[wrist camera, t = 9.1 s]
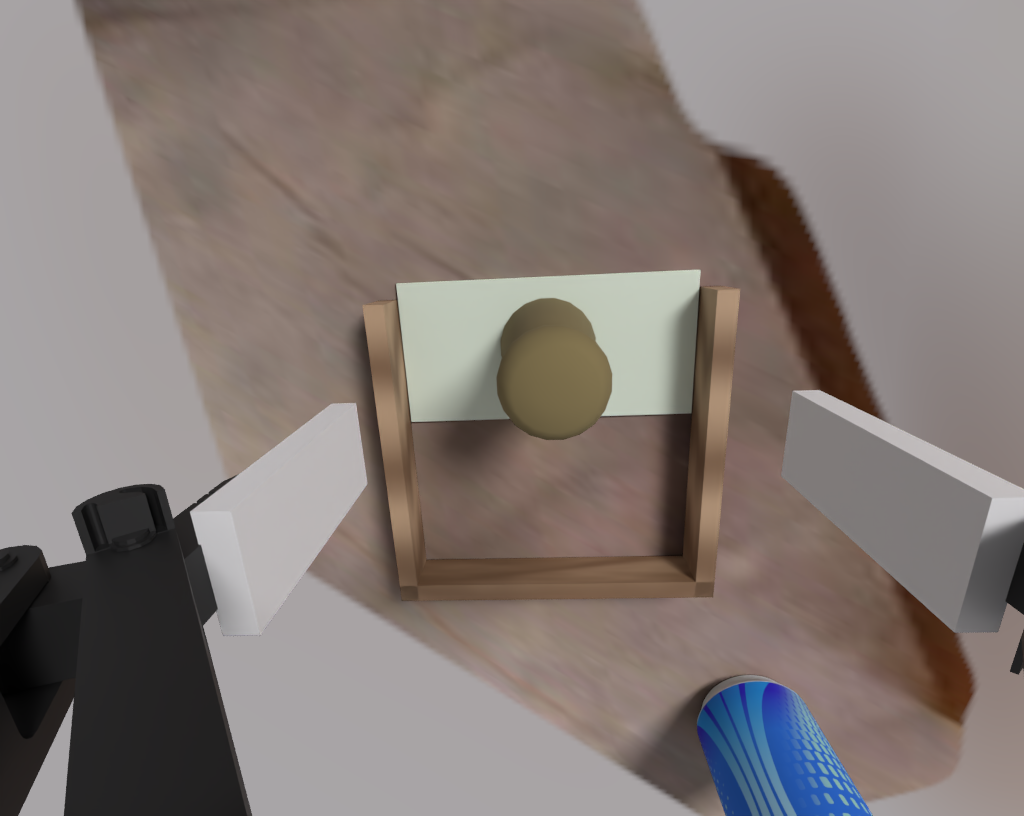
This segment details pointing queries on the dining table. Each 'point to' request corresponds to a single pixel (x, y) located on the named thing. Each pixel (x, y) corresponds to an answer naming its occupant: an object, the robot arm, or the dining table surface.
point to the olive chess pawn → (552, 370)
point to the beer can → (771, 753)
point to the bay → (572, 573)
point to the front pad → (601, 297)
